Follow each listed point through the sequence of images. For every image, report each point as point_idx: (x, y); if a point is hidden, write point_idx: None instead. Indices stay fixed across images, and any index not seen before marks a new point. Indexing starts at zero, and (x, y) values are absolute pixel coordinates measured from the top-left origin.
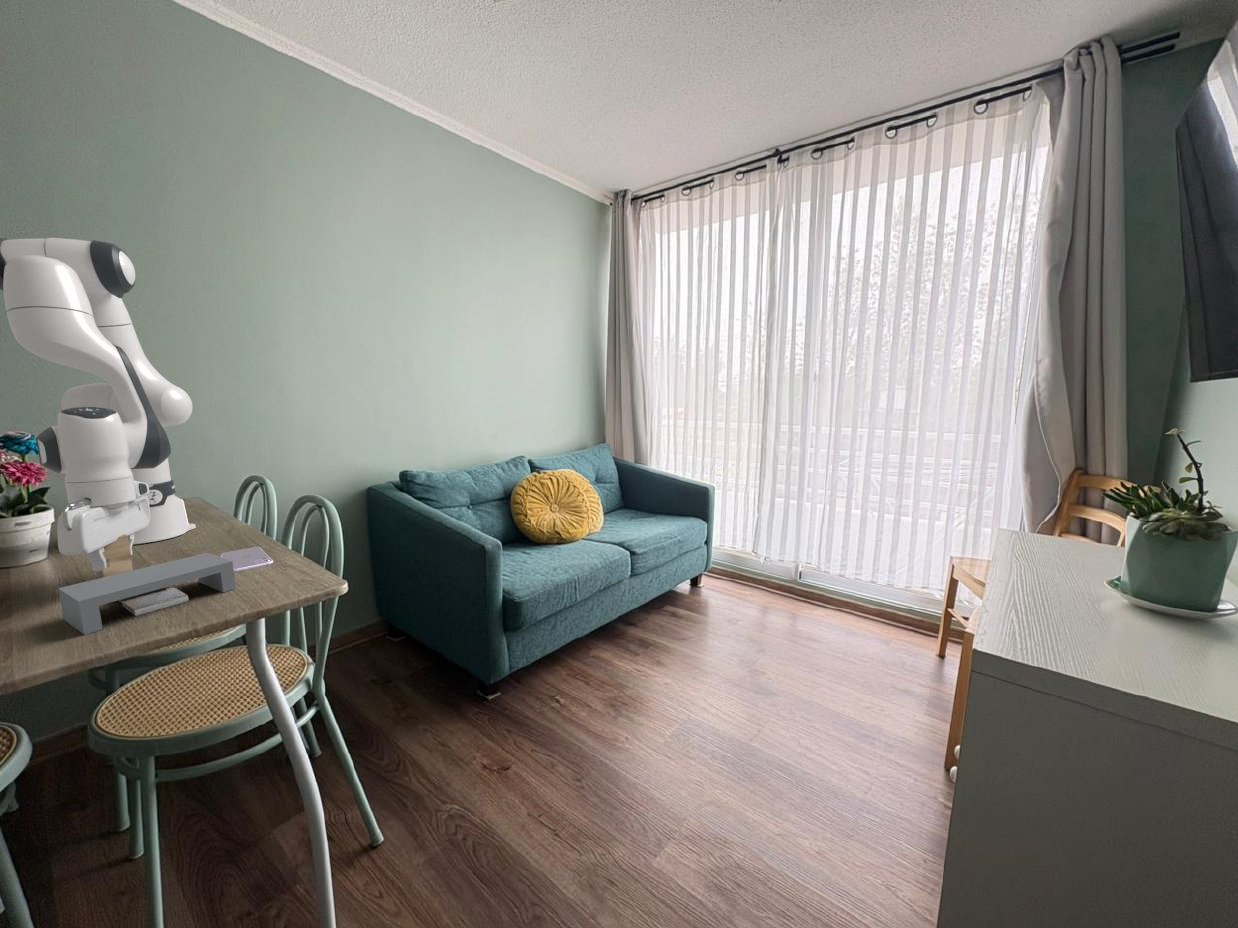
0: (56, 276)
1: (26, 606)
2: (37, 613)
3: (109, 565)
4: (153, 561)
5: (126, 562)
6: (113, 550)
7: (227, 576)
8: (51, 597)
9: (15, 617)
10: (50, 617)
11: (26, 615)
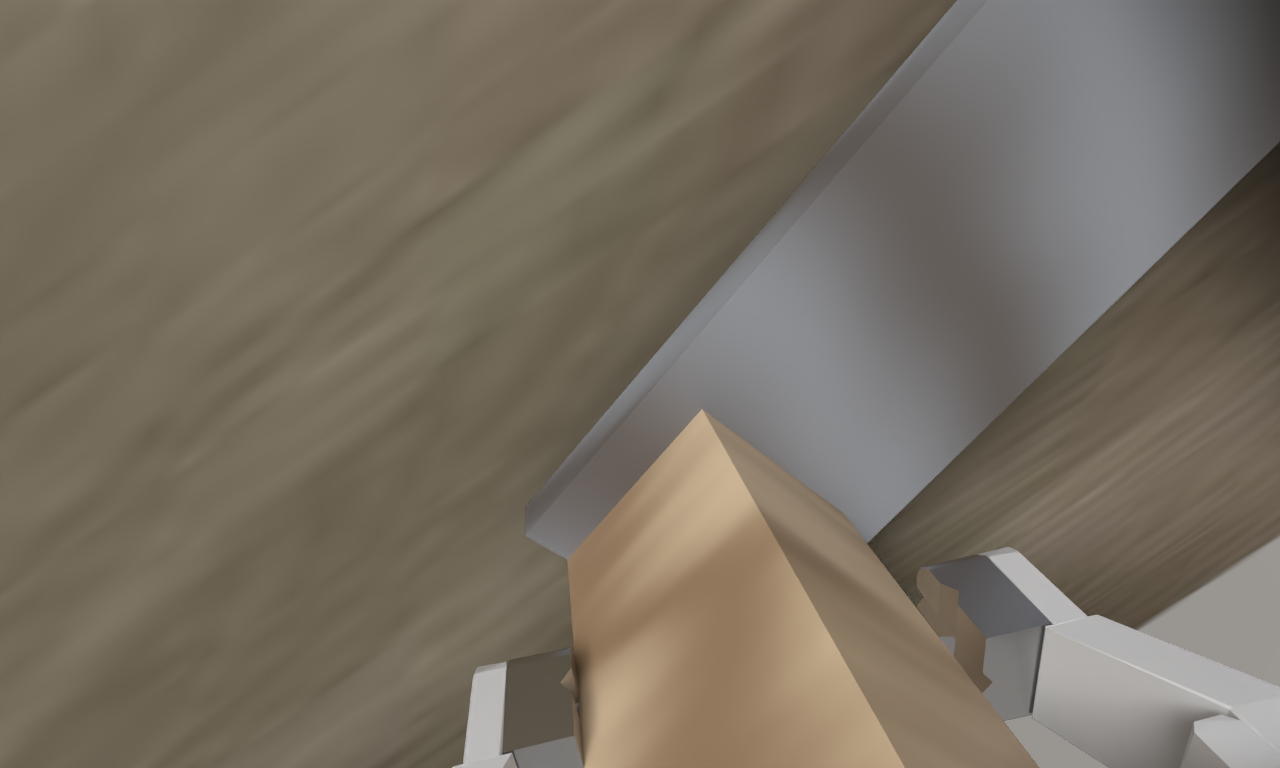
0: None
1: None
2: (1139, 548)
3: (934, 574)
4: (81, 634)
5: (780, 518)
6: (962, 722)
7: None
8: None
9: (1149, 608)
10: (1260, 424)
11: (1144, 579)
